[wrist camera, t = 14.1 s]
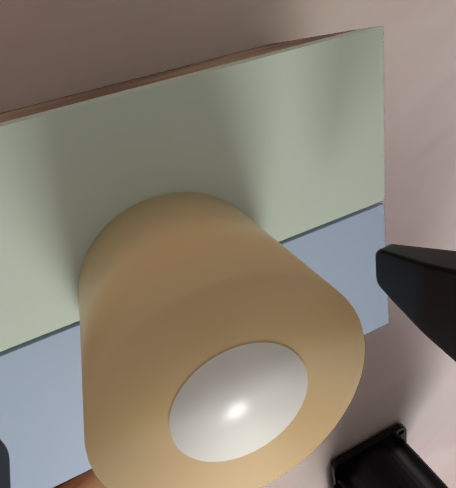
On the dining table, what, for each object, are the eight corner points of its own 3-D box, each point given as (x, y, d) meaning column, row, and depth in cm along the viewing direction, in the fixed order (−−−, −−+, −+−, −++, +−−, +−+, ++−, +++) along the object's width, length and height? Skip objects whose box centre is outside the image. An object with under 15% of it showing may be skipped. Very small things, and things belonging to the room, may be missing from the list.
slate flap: (363, 196, 13) (383, 204, 12) (370, 309, 15) (388, 322, 14) (-86, 369, 10) (-101, 396, 9) (5, 482, 12) (0, 513, 11)
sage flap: (357, 29, 11) (383, 25, 10) (363, 191, 13) (384, 200, 12) (-245, 186, 7) (-286, 202, 6) (-91, 365, 10) (-106, 393, 9)
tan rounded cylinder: (248, 165, 10) (362, 226, 6) (276, 318, 12) (370, 431, 8) (41, 233, 9) (19, 362, 5) (119, 387, 11) (145, 554, 7)
